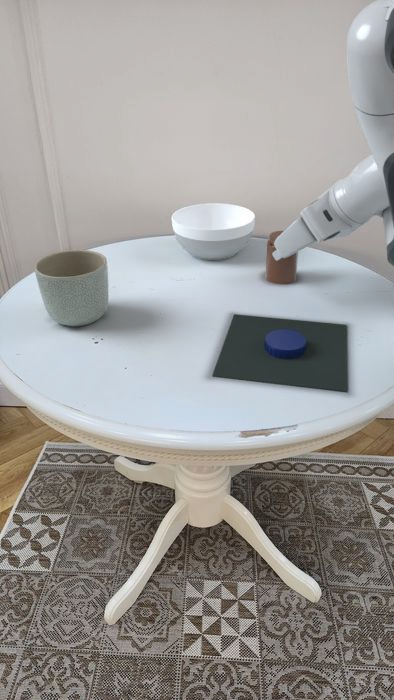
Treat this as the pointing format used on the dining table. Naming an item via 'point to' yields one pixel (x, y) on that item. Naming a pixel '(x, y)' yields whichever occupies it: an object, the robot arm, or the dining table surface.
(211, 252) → the bowl
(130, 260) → the dining table surface
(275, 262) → the jam jar
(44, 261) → the planter
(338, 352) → the mat
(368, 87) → the robot arm
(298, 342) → the jam lid
